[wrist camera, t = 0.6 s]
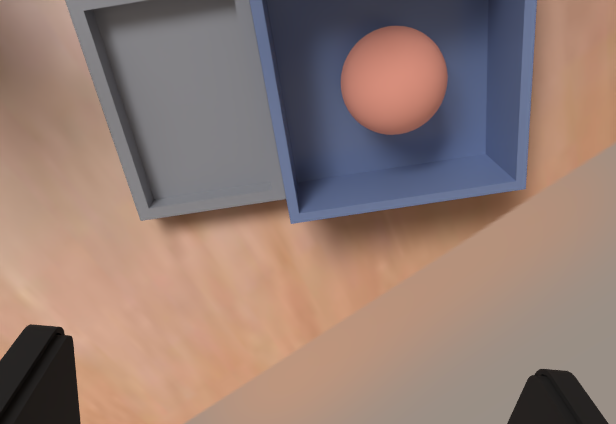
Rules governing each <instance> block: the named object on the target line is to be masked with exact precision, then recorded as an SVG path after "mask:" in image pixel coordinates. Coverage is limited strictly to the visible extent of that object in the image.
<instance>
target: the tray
mask: <svg viewBox="0 0 616 424" xmlns="http://www.w3.org/2000/svg"><path fill="white" fill-rule="evenodd" d="M65 1H66V4H67V7H68V10H69V13H70V16H71V19H72V22H73V25H74V28H75V31H76V33H77V36H78V39H79V42H80V45H81V48H82V51H83V54H84V57H85V60H86V63H87V66H88V68H89V71H90V74H91V77H92V80H93V83H94V86H95V89H96V92H97V95H98V98H99V101H100V103H101V106H102V109H103V112H104V115H105V118H106V121H107V124H108V127H109V130H110V133H111V136H112V138H113V141H114V144H115V147H116V150H117V153H118V156H119V159H120V162H121V165H122V168H123V171H124V173H125V176H126V179H127V182H128V185H129V188H130V191H131V194H132V197H133V200H134V203H135V206H136V209H137V211H138V214H139V217H140V220H141V221H143V220H150V219H156V218H163V217H170V216H176V215H183V214H190V213H196V212H203V211H210V210H216V209H223V208H230V207H236V206H243V205H250V204H256V203H263V202H270V201H276V200H283V199H286V195H285V189H284V184H283V178H282V173H281V168H280V162H279V157H278V152H277V146H276V141H275V135H274V130H273V125H272V119H271V114H270V108H269V103H268V98H267V92H266V87H265V82H264V76H263V71H262V65H261V60H260V55H259V49H258V44H257V38H256V33H255V28H254V22H253V17H252V12H251V6H250V1H249V0H65Z"/></svg>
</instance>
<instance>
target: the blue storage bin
mask: <svg viewBox="0 0 616 424" xmlns="http://www.w3.org/2000/svg"><path fill="white" fill-rule="evenodd" d="M249 1H250V6H251V12H252V17H253V22H254V28H255V33H256V38H257V44H258V49H259V55H260V60H261V65H262V71H263V76H264V82H265V87H266V92H267V98H268V103H269V108H270V114H271V119H272V125H273V130H274V135H275V141H276V146H277V152H278V157H279V162H280V168H281V173H282V178H283V184H284V189H285V195H286V200H287V205H288V211H289V216H290V222H291V224H293V223H300V222H306V221H313V220H320V219H327V218H333V217H340V216H347V215H354V214H360V213H367V212H374V211H381V210H387V209H394V208H401V207H408V206H414V205H421V204H428V203H435V202H441V201H448V200H455V199H462V198H468V197H475V196H482V195H489V194H495V193H502V192H509V191H516V190H522V189H526V175H527V158H528V141H529V124H530V108H531V91H532V74H533V57H534V40H535V23H536V6H537V0H249ZM387 26H406V27H411V28H413V29H416V30H418V31H420V32H422V33H424V34H425V35H427V36H428V37H429V38H430V39H432V40H433V41H434V42H435V44H436V45H437V46H438V48H439V49H440V51H441V53H442V55H443V57H444V60H445V62H446V67H447V74H448V81H447V88H446V93H445V96H444V99H443V101H442V103H441V105H440V107H439V109H438V110H437V112H436V113H435V114H434V115H433V116H432V117H431V118H430V120H428V121H427V122H426V123H425V124H423V125H422V126H420V127H419V128H417V129H415V130H413V131H410V132H407V133H403V134H396V135H386V134H380V133H377V132H374V131H371V130H369V129H367V128H365V127H364V126H362V125H361V124H360V123H359V122H357V121H356V120H355V119H354V117H353V116H352V115H351V114H350V112H349V111H348V109H347V107H346V105H345V103H344V100H343V97H342V92H341V73H342V68H343V65H344V62H345V60H346V58H347V56H348V54H349V52H350V51H351V49H352V48H353V47H354V46H355V44H356V43H357V42H358V41H359V40H361V39H362V38H363V37H364V36H366V35H367V34H369V33H371V32H372V31H374V30H377V29H379V28H383V27H387Z"/></svg>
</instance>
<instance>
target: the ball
mask: <svg viewBox="0 0 616 424" xmlns="http://www.w3.org/2000/svg"><path fill="white" fill-rule="evenodd" d="M447 81H448V74H447V67H446V62H445V60H444V57H443V55H442V53H441V51H440V49H439V48H438V46H437V45H436V44H435V42H434V41H433V40H432V39H430V38H429V37H428V36H427V35H425V34H424V33H422V32H420V31H418V30H416V29H413V28H411V27H406V26H387V27H383V28H379V29H377V30H374V31H372V32H371V33H369V34H367V35H366V36H364V37H363V38H362V39H361V40H359V41H358V42H357V43H356V44H355V46H354V47H353V48H352V49H351V51H350V52H349V54H348V56H347V58H346V60H345V62H344V65H343V68H342V73H341V92H342V97H343V100H344V103H345V105H346V107H347V109H348V111H349V112H350V114H351V115H352V116H353V117H354V119H355V120H356V121H357V122H359V123H360V124H361V125H362V126H364V127H365V128H367V129H369V130H371V131H374V132H377V133H380V134H386V135H396V134H403V133H407V132H410V131H413V130H415V129H417V128H419V127H420V126H422V125H423V124H425V123H426V122H427V121H428V120H430V118H431V117H432V116H433V115H434V114H435V113H436V112H437V110H438V109H439V107H440V105H441V103H442V101H443V99H444V96H445V93H446V88H447Z"/></svg>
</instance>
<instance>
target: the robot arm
mask: <svg viewBox="0 0 616 424" xmlns="http://www.w3.org/2000/svg"><path fill="white" fill-rule="evenodd" d="M0 424H80V413H79V401H78V390H77V379H76V368H75V357H74V346H73V338H72V337H71V336H68V335H65V334H64V330H63V329H62V327H54V326H42V325H28V326H27V327H26V328H25V329H24V330H23V331H22V333H21V334H20V335H19V337H18V338H17V339H16V341H15V342H14V343H13V345H12V346H11V347H10V349H9V350H8V351H7V353H6V354H5V355H4V357H3V358H2V359H1V360H0ZM507 424H608V422H607V421H606V419H605V418H604V417H603V415H602V414H601V413H600V411H599V410H598V408H597V407H596V406H595V404H594V403H593V401H592V400H591V399H590V397H589V396H588V394H587V393H586V392H585V390H584V389H583V387H582V386H581V385H580V383H579V382H578V380H577V379H576V377H575V376H574V375H573V374H572V373H570V372H568V371H560V370H549V369H540V370H538V371H537V372H536V373H535V375H532V376H530V377H529V378H528V380H527V382H526V384H525V387H524V388H523V391H522V393H521V395H520V397H519V399H518V401H517V404H516V406H515V408H514V410H513V412H512V415H511V417H510V419H509V421H508V423H507Z"/></svg>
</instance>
